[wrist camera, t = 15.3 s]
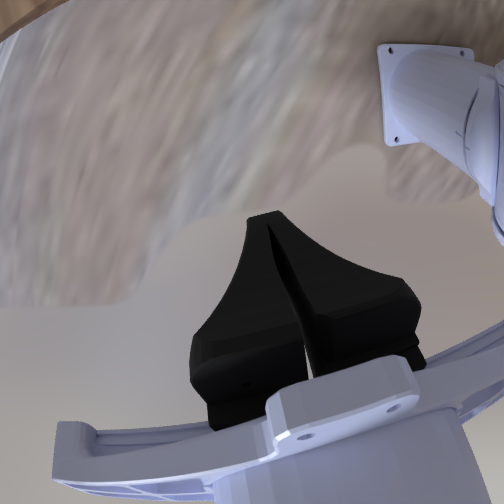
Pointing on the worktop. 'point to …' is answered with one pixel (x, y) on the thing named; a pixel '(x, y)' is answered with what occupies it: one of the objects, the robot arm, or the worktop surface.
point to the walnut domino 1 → (19, 13)
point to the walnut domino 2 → (40, 14)
